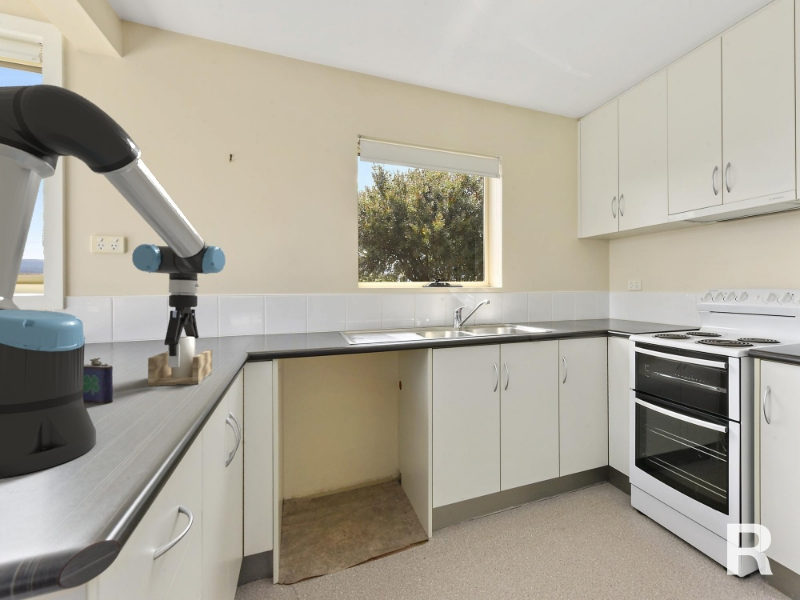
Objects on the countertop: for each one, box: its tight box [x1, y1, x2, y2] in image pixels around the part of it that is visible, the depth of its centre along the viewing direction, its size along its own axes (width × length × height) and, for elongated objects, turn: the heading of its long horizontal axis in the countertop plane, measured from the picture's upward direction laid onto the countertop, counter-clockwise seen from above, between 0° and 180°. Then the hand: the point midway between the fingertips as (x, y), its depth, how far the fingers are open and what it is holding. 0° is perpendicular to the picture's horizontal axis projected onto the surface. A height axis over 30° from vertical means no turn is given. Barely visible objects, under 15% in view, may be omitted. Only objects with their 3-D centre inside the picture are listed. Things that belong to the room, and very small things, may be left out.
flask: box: [83, 357, 114, 405], centre depth 84 cm, size 9×3×11 cm, turn 83°
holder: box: [147, 349, 213, 387], centre depth 107 cm, size 14×13×8 cm
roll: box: [171, 336, 194, 379], centre depth 107 cm, size 6×6×12 cm
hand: (182, 362), depth 107 cm, fingers open, 13 cm apart
